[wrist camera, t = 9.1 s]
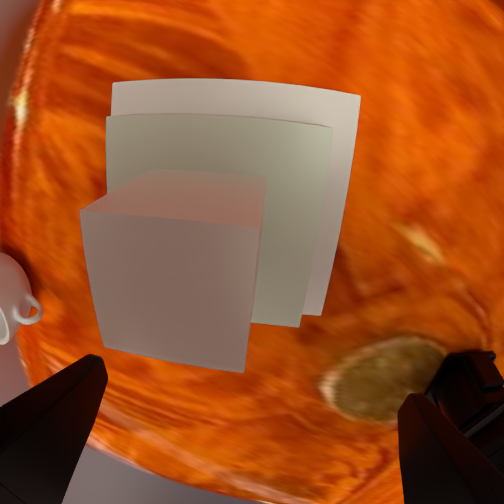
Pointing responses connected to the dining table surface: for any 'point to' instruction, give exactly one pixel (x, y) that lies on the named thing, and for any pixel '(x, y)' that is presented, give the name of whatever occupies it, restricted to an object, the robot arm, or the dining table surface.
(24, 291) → the teacup
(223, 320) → the pink brick
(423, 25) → the dining table surface
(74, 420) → the robot arm
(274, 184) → the base brick
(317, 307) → the base plate
